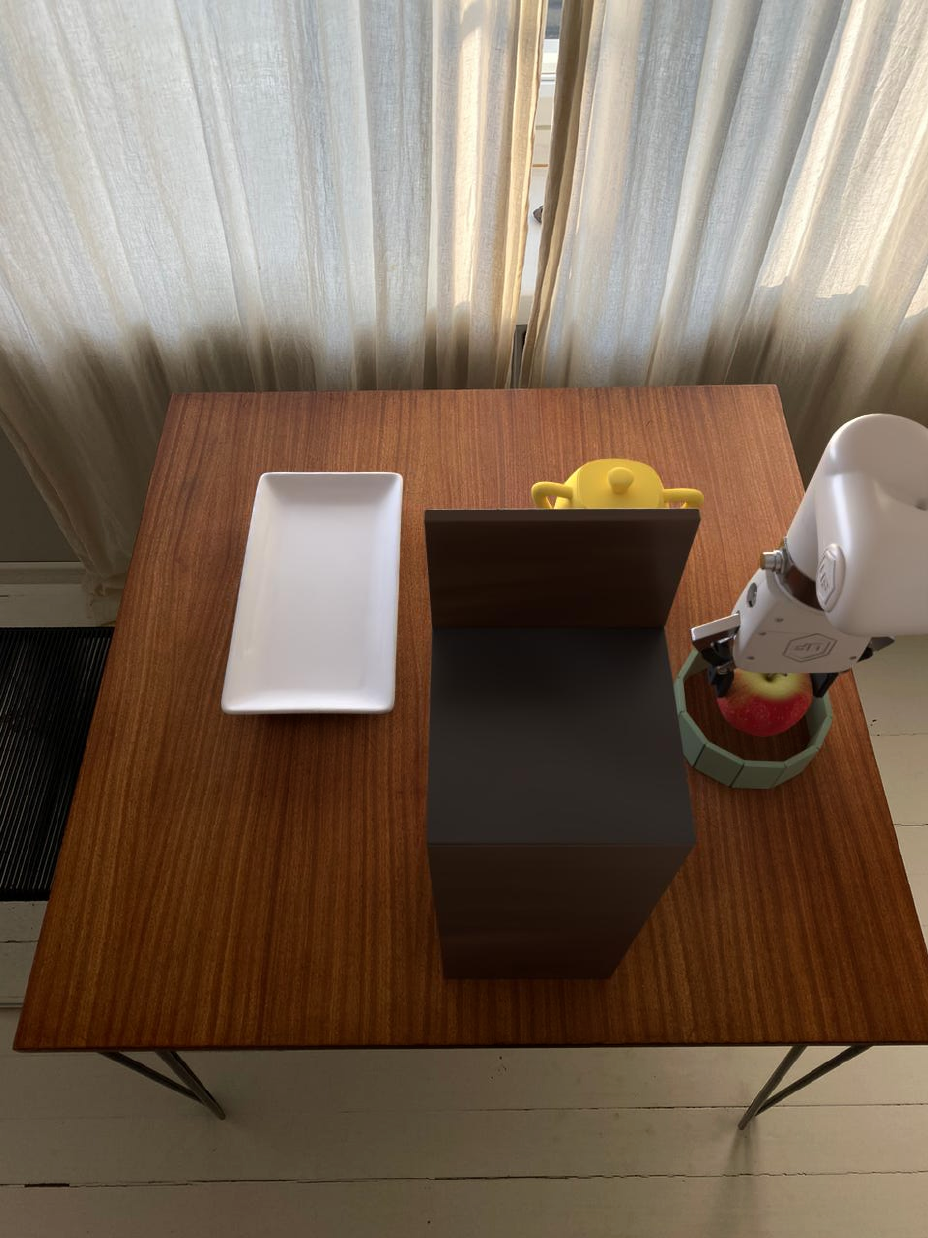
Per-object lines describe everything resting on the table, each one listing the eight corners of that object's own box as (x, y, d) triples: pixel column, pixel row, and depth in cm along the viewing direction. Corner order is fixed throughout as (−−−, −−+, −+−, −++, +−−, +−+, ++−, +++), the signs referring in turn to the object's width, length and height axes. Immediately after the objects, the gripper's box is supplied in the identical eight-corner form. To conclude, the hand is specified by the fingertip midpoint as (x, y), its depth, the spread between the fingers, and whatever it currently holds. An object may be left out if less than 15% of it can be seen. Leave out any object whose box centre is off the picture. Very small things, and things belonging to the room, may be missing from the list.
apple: (718, 756, 81) (745, 703, 73) (697, 678, 86) (721, 620, 78) (805, 749, 81) (842, 696, 73) (779, 672, 86) (811, 614, 78)
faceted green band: (844, 749, 85) (863, 726, 81) (725, 813, 81) (739, 793, 77) (753, 639, 92) (767, 613, 88) (640, 694, 88) (648, 669, 84)
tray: (406, 489, 104) (404, 468, 101) (396, 727, 86) (393, 711, 83) (264, 490, 104) (258, 470, 101) (226, 729, 86) (217, 713, 84)
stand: (610, 979, 73) (748, 761, 37) (443, 979, 73) (415, 762, 37) (596, 819, 81) (699, 507, 44) (446, 819, 81) (424, 508, 44)
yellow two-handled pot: (515, 549, 99) (520, 477, 89) (601, 484, 104) (614, 409, 94) (607, 624, 93) (623, 556, 83) (693, 551, 98) (717, 479, 88)
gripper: (721, 606, 63) (675, 721, 77) (964, 605, 63) (872, 720, 77) (705, 527, 67) (664, 649, 81) (932, 526, 67) (851, 649, 81)
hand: (765, 683), depth 79 cm, fingers closed on apple, 8 cm apart
